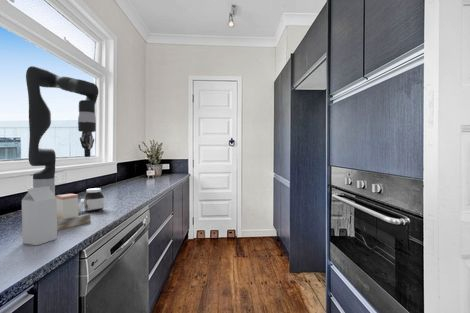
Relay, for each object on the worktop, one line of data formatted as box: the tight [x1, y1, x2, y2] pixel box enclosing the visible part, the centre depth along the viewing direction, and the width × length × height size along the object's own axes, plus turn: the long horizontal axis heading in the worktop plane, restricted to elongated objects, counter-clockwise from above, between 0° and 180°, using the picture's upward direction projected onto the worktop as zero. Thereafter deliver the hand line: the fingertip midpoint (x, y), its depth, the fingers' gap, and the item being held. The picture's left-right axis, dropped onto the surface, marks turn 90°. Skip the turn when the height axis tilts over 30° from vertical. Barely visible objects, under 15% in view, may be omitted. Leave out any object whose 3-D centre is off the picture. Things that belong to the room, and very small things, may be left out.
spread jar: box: [78, 187, 105, 213], centre depth 133 cm, size 12×11×12 cm
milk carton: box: [21, 186, 58, 246], centre depth 88 cm, size 7×7×19 cm
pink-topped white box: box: [55, 193, 79, 220], centre depth 108 cm, size 6×6×11 cm
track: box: [57, 211, 92, 231], centre depth 107 cm, size 18×9×6 cm, turn 147°
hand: (87, 156), depth 125 cm, fingers closed
